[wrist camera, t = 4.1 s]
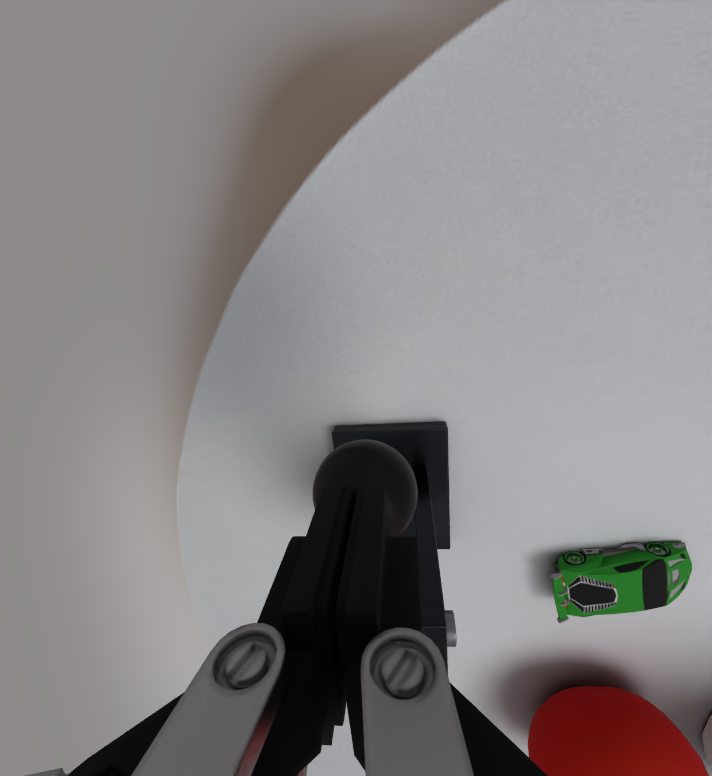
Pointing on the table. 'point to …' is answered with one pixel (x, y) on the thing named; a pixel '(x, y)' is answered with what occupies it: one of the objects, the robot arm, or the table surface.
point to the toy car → (620, 579)
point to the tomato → (608, 736)
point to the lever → (371, 477)
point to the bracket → (421, 511)
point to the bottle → (708, 741)
